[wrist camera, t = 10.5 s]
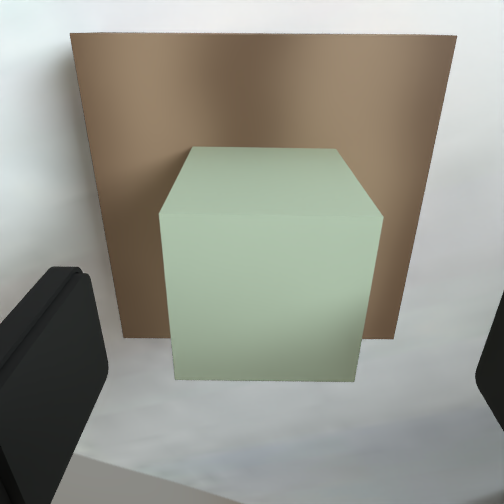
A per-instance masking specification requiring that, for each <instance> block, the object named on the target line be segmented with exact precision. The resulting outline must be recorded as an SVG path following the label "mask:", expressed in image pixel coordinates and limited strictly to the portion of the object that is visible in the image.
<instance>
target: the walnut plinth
mask: <svg viewBox="0 0 504 504" xmlns="http://www.w3.org/2000/svg"><path fill="white" fill-rule="evenodd" d="M70 38H71V44H72V50H73V55H74V61H75V67H76V72H77V78H78V84H79V89H80V95H81V100H82V106H83V112H84V117H85V123H86V129H87V134H88V140H89V146H90V151H91V157H92V162H93V168H94V174H95V179H96V185H97V191H98V196H99V202H100V208H101V213H102V219H103V224H104V230H105V236H106V241H107V247H108V253H109V258H110V264H111V270H112V275H113V281H114V286H115V292H116V298H117V303H118V309H119V315H120V320H121V326H122V332H123V337H124V338H171V334H170V324H169V314H168V303H167V293H166V282H165V272H164V262H163V251H162V241H161V231H160V220H159V212H160V210H161V208H162V206H163V204H164V203H165V201H166V199H167V197H168V195H169V193H170V191H171V189H172V187H173V185H174V183H175V181H176V179H177V177H178V175H179V173H180V171H181V169H182V167H183V165H184V163H185V161H186V159H187V157H188V155H189V153H190V151H191V149H192V147H257V148H321V149H336V150H337V151H338V152H339V154H340V155H341V157H342V158H343V160H344V161H345V162H346V164H347V165H348V167H349V168H350V170H351V171H352V172H353V174H354V175H355V177H356V178H357V180H358V181H359V183H360V184H361V185H362V187H363V188H364V190H365V191H366V193H367V194H368V195H369V197H370V198H371V200H372V201H373V203H374V204H375V205H376V207H377V208H378V210H379V211H380V213H381V214H382V215H383V223H382V229H381V234H380V240H379V246H378V251H377V257H376V262H375V268H374V274H373V279H372V285H371V290H370V296H369V302H368V307H367V313H366V319H365V324H364V330H363V335H362V339H394V334H395V329H396V325H397V320H398V315H399V310H400V306H401V301H402V296H403V291H404V287H405V282H406V277H407V272H408V268H409V263H410V258H411V253H412V249H413V244H414V239H415V234H416V230H417V225H418V220H419V215H420V210H421V206H422V201H423V196H424V191H425V187H426V182H427V177H428V172H429V168H430V163H431V158H432V153H433V149H434V144H435V139H436V134H437V130H438V125H439V120H440V115H441V111H442V106H443V101H444V96H445V92H446V87H447V82H448V77H449V73H450V68H451V63H452V58H453V54H454V49H455V44H456V39H457V36H453V35H424V34H267V33H104V32H100V33H70Z"/></svg>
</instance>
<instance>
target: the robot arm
mask: <svg viewBox="0 0 504 504" xmlns="http://www.w3.org/2000/svg"><path fill="white" fill-rule="evenodd" d="M107 375H108V359H107V354H106V350H105V345H104V340H103V335H102V331H101V326H100V321H99V316H98V312H97V307H96V302H95V297H94V293H93V288H92V283H91V279H90V276H89V275H88V274H87V273H83V272H82V270H81V269H80V268H79V267H51V268H50V269H48V271H47V272H46V273H45V274H44V275H43V276H42V277H41V279H40V280H39V281H38V282H37V283H36V284H35V285H34V286H33V288H32V289H31V290H30V291H29V292H28V293H27V294H26V295H25V297H24V298H23V299H22V300H21V301H20V302H19V303H18V305H17V306H16V307H15V308H14V309H13V310H12V311H11V312H10V314H9V315H8V316H7V317H6V318H5V319H4V320H3V321H2V323H1V324H0V504H51V501H52V499H53V497H54V495H55V492H56V490H57V488H58V486H59V483H60V481H61V479H62V477H63V475H64V472H65V470H66V468H67V465H68V463H69V461H70V459H71V457H72V454H73V452H74V450H75V448H76V445H77V443H78V441H79V439H80V437H81V434H82V432H83V430H84V428H85V425H86V423H87V421H88V419H89V416H90V414H91V412H92V410H93V407H94V405H95V403H96V401H97V399H98V396H99V394H100V392H101V390H102V387H103V385H104V383H105V381H106V378H107ZM475 379H476V384H477V386H478V389H479V390H480V392H481V394H482V395H483V397H484V399H485V400H486V402H487V404H488V406H489V407H490V409H491V411H492V412H493V414H494V416H495V417H496V419H497V421H498V423H499V424H500V426H501V428H502V429H503V431H504V292H503V295H502V298H501V301H500V303H499V306H498V309H497V312H496V315H495V318H494V321H493V323H492V326H491V329H490V332H489V335H488V338H487V341H486V343H485V346H484V349H483V352H482V355H481V358H480V361H479V363H478V366H477V369H476V373H475Z"/></svg>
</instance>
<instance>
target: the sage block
mask: <svg viewBox="0 0 504 504" xmlns="http://www.w3.org/2000/svg"><path fill="white" fill-rule="evenodd" d="M159 220H160V231H161V241H162V251H163V262H164V272H165V282H166V293H167V303H168V314H169V324H170V334H171V345H172V355H173V365H174V376H175V380H226V381H314V382H354V380H355V375H356V369H357V364H358V358H359V352H360V347H361V341H362V335H363V330H364V324H365V319H366V313H367V307H368V302H369V296H370V290H371V285H372V279H373V274H374V268H375V262H376V257H377V251H378V246H379V240H380V234H381V229H382V223H383V215H382V214H381V213H380V211H379V210H378V208H377V207H376V205H375V204H374V203H373V201H372V200H371V198H370V197H369V195H368V194H367V193H366V191H365V190H364V188H363V187H362V185H361V184H360V183H359V181H358V180H357V178H356V177H355V175H354V174H353V172H352V171H351V170H350V168H349V167H348V165H347V164H346V162H345V161H344V160H343V158H342V157H341V155H340V154H339V152H338V151H337V150H336V149H321V148H257V147H192V149H191V151H190V153H189V155H188V157H187V159H186V161H185V163H184V165H183V167H182V169H181V171H180V173H179V175H178V177H177V179H176V181H175V183H174V185H173V187H172V189H171V191H170V193H169V195H168V197H167V199H166V201H165V203H164V204H163V206H162V208H161V210H160V212H159Z"/></svg>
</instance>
